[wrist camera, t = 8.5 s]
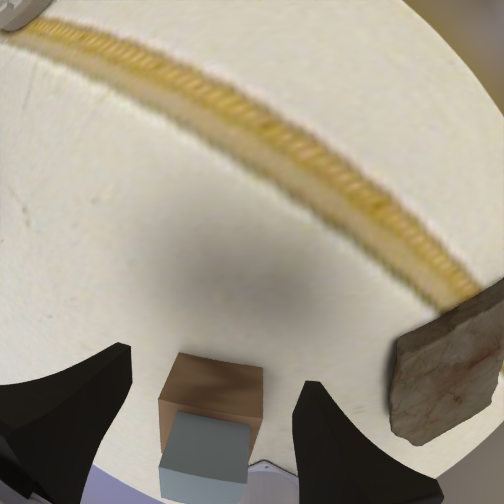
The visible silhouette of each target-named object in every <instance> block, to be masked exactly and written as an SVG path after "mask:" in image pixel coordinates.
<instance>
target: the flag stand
mask: <svg viewBox="0 0 504 504" xmlns="http://www.w3.org/2000/svg"><path fill="white" fill-rule="evenodd" d="M51 2H52V0H0V29H1V28H2V29H4V30H7V31H15V30H18V29H19V28H21V27H23V26H25V25H26V24H28V23H29V22H30V21H31V20H33V19H34V18H35V17H36V16H37V15H39V14H40V13H41V12H42V11H43V10H44V9H45V8H46V7H47V6H48V5H49V4H50V3H51Z"/></svg>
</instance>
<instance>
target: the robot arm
mask: <svg viewBox="0 0 504 504" xmlns="http://www.w3.org/2000/svg"><path fill="white" fill-rule="evenodd" d="M132 382H133V381H132V363H131V346H129V345H126V344H122V343H119V342H117V343H115V344H113V345H111V346H110V347H108V348H106V349H104V350H103V351H101V352H99V353H97V354H95V355H93V356H92V357H90V358H88V359H86V360H84V361H82V362H80V363H78V364H76V365H74V366H72V367H69V368H67V369H65V370H63V371H60V372H58V373H55V374H52V375H49V376H46V377H43V378H40V379H36V380H31V381H27V382H23V383H17V384H9V385H0V504H80V501H81V497H82V493H83V490H84V487H85V483H86V480H87V477H88V474H89V471H90V468H91V465H92V463H93V460H94V457H95V455H96V452H97V450H98V448H99V445H100V443H101V441H102V439H103V437H104V435H105V434H106V432H107V430H108V429H109V427H110V425H111V424H112V422H113V420H114V418H115V417H116V415H117V413H118V412H119V410H120V408H121V407H122V405H123V403H124V401H125V399H126V397H127V395H128V392H129V390H130V387H131V385H132ZM292 435H293V442H294V449H295V456H296V463H297V470H298V477H296V476H294V475H292V474H290V473H288V472H286V471H284V470H282V469H280V468H278V467H276V466H274V465H272V464H270V463H269V462H266V461H262V462H259V463H257V464H255V465H252V466H250V467H248V478H247V485H246V488H245V490H244V492H243V494H242V496H241V498H240V500H239V502H238V504H441V503H442V501H443V499H444V495H443V493H442V490H441V488H440V486H439V484H438V482H437V480H436V479H433V478H431V477H428V476H426V475H423V474H421V473H419V472H416V471H414V470H412V469H411V468H409V467H407V466H405V465H403V464H401V463H400V462H398V461H397V460H395V459H393V458H392V457H391V456H389V455H388V454H386V453H385V452H383V451H382V450H381V449H379V448H378V447H377V446H376V445H375V444H373V443H372V442H371V441H370V440H369V439H368V438H367V437H366V436H364V435H363V434H362V433H361V432H360V431H359V430H358V428H357V427H356V426H355V425H354V424H353V423H352V422H351V421H350V420H349V419H348V417H347V416H346V415H345V414H344V413H343V411H342V410H341V409H340V408H339V406H338V405H337V404H336V403H335V401H334V400H333V399H332V397H331V396H330V395H329V393H328V392H327V391H326V389H325V388H324V386H323V385H322V384H321V383H320V382H318V381H307V380H306V381H305V384H304V386H303V389H302V391H301V394H300V396H299V399H298V401H297V404H296V406H295V409H294V411H293V414H292Z"/></svg>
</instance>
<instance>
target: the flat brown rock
mask: <svg viewBox="0 0 504 504" xmlns="http://www.w3.org/2000/svg"><path fill="white" fill-rule="evenodd" d="M503 360H504V279H502V280H501V281H499V282H498V283H497V284H495V285H493V286H492V287H489V288H488V289H486V290H484V291H483V292H481V293H480V294H478V295H476V296H475V297H473V298H471V299H469V300H467V301H465V302H463V303H462V304H460V305H459V306H458V307H456V308H455V309H454V310H453V311H450V312H449V313H447V314H446V315H444V316H442V317H439V318H437V319H436V320H434V321H432V322H430V323H429V324H426V325H424V326H422V327H420V328H418V329H416V330H414V331H411V332H409V333H406V334H404V335H403V336H401V337H399V338H398V340H397V365H396V367H395V370H394V373H393V380H392V385H391V389H390V400H389V413H390V417H389V421H390V426H391V431H392V432H393V433H394V434H395V435H396V436H398V437H401V438H404V439H407V440H408V441H409V442H410V443H411V444H412V445H414V446H422V445H424V444H426V443H427V442H429V441H431V440H433V439H434V438H436V437H438V436H440V435H441V434H443V433H445V432H446V431H448V430H450V429H452V428H454V427H455V426H457V425H458V424H460V423H462V422H464V421H466V420H468V419H470V418H471V417H473V416H474V415H476V414H478V413H479V412H481V411H482V410H483V409H485V408H486V407H488V406H489V405H490V404H491V402H492V400H491V398H492V395H493V393H494V391H495V389H496V386H497V384H498V376H499V372H500V370H501V367H502V364H503Z"/></svg>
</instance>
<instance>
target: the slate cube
mask: <svg viewBox="0 0 504 504" xmlns="http://www.w3.org/2000/svg"><path fill="white" fill-rule="evenodd" d="M249 441H250V425H246V424H239V423H233V422H227V421H222V420H217V419H211V418H207V417H202V416H197V415H193V414H188V413H184V412H180V411H177V413H176V416H175V419H174V422H173V424H172V427H171V430H170V433H169V436H168V439H167V442H166V446H165V449H164V452H163V455H162V458H161V461H160V464H159V479H160V490H161V498H164V499H168V500H172V501H176V502H181V503H185V504H238V502H239V500H240V498H241V496H242V494H243V492H244V490H245V488H246V485H247V478H248V460H249Z"/></svg>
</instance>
